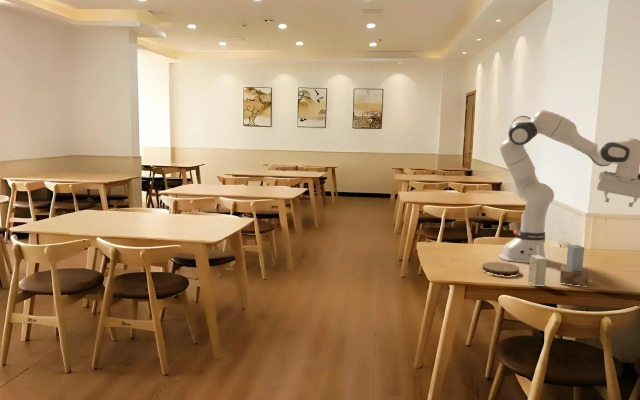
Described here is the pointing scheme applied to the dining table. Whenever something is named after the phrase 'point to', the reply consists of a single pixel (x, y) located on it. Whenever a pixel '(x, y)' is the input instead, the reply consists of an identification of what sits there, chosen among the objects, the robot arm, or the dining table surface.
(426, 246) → the dining table surface
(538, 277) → the skincare box
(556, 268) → the dining table surface
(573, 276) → the walnut block
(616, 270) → the dining table surface
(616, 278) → the dining table surface
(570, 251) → the slate block
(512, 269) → the grey brown disc
